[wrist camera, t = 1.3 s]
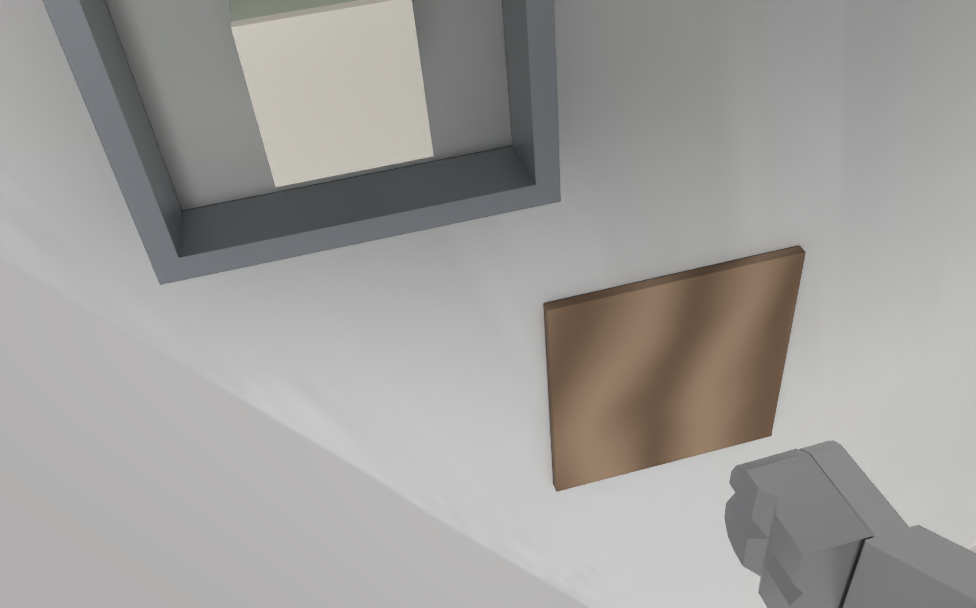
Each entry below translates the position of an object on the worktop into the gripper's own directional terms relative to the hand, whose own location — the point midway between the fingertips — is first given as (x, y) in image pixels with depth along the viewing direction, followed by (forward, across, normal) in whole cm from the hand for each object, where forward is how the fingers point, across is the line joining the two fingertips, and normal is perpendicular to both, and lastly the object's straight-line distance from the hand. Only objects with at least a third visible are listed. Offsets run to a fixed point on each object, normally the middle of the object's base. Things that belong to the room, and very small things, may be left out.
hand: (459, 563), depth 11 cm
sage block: (+25, 0, 0) cm, 25 cm away
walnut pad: (+25, -16, +23) cm, 37 cm away
